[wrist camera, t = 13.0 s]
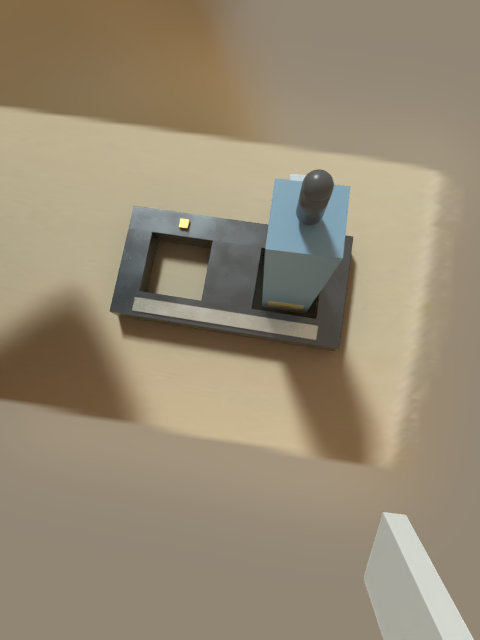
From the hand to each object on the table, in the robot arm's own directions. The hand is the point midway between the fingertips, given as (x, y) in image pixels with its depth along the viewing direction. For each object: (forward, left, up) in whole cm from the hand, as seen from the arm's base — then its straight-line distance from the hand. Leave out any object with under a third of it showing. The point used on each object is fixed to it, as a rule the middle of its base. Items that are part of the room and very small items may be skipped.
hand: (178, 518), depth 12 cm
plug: (+3, +14, -21) cm, 25 cm away
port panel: (-2, +14, -20) cm, 25 cm away
